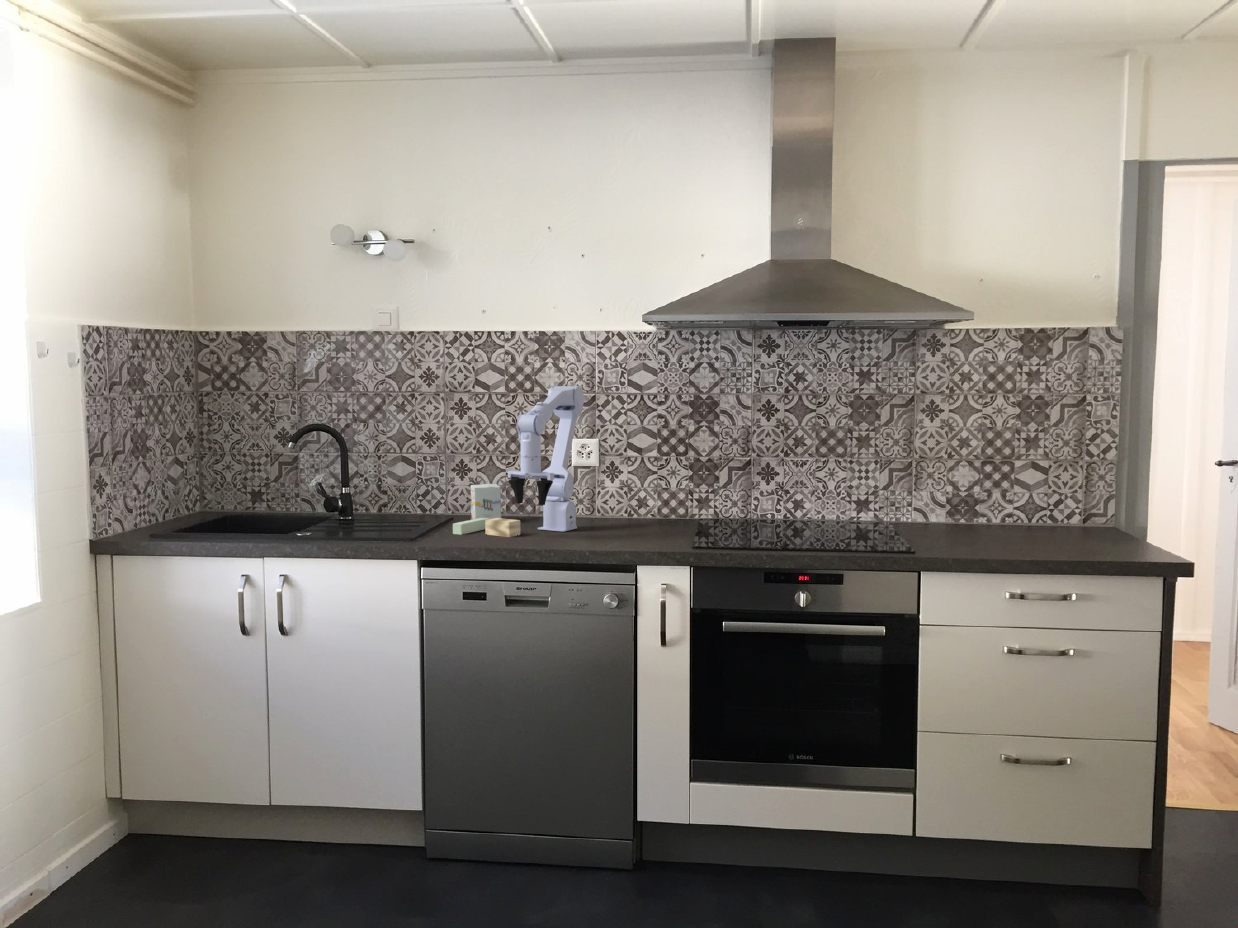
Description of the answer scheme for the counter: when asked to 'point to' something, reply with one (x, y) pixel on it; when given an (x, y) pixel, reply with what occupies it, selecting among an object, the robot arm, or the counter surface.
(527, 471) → the robot arm
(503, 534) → the block
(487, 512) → the ink box
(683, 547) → the counter surface
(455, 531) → the rail
